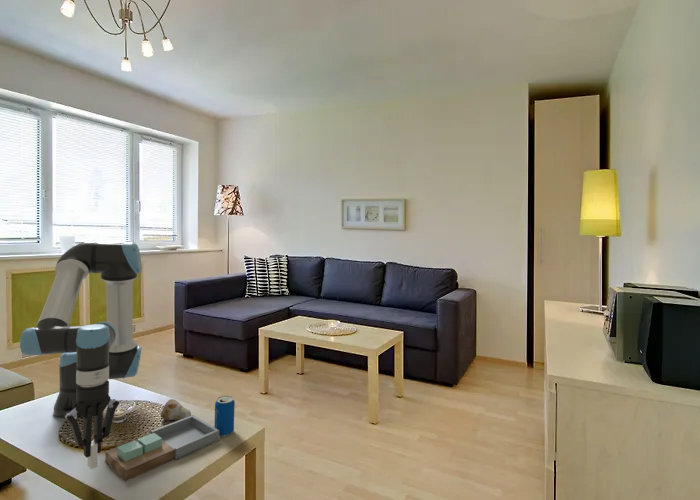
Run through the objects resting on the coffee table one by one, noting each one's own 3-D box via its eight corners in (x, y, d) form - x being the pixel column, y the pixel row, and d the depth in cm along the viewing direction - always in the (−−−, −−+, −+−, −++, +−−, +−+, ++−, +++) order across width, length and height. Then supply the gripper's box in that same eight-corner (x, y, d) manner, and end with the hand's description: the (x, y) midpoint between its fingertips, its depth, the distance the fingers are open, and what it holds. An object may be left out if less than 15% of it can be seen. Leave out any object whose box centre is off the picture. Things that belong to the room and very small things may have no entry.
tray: (150, 441, 130) (150, 430, 130) (192, 424, 142) (193, 414, 142) (176, 460, 121) (176, 449, 121) (219, 440, 133) (219, 430, 132)
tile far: (137, 446, 122) (137, 439, 121) (153, 440, 126) (154, 432, 125) (145, 453, 119) (145, 445, 118) (161, 446, 123) (162, 438, 122)
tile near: (117, 455, 117) (117, 446, 117) (134, 448, 121) (135, 440, 121) (124, 461, 114) (125, 453, 114) (142, 454, 118) (142, 446, 118)
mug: (187, 425, 142) (172, 403, 140) (167, 433, 145) (152, 411, 143) (198, 411, 149) (184, 390, 147) (178, 418, 152) (164, 397, 150)
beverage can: (210, 432, 137) (211, 398, 137) (227, 426, 142) (228, 393, 142) (220, 439, 133) (221, 405, 132) (237, 433, 138) (238, 399, 137)
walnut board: (105, 461, 119) (105, 451, 119) (152, 442, 130) (152, 433, 130) (126, 480, 110) (126, 470, 110) (174, 458, 121) (174, 449, 121)
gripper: (70, 393, 101) (69, 483, 102) (124, 379, 111) (123, 460, 112) (59, 385, 105) (59, 471, 107) (112, 372, 116) (112, 450, 117)
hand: (92, 465), depth 110 cm, fingers closed
